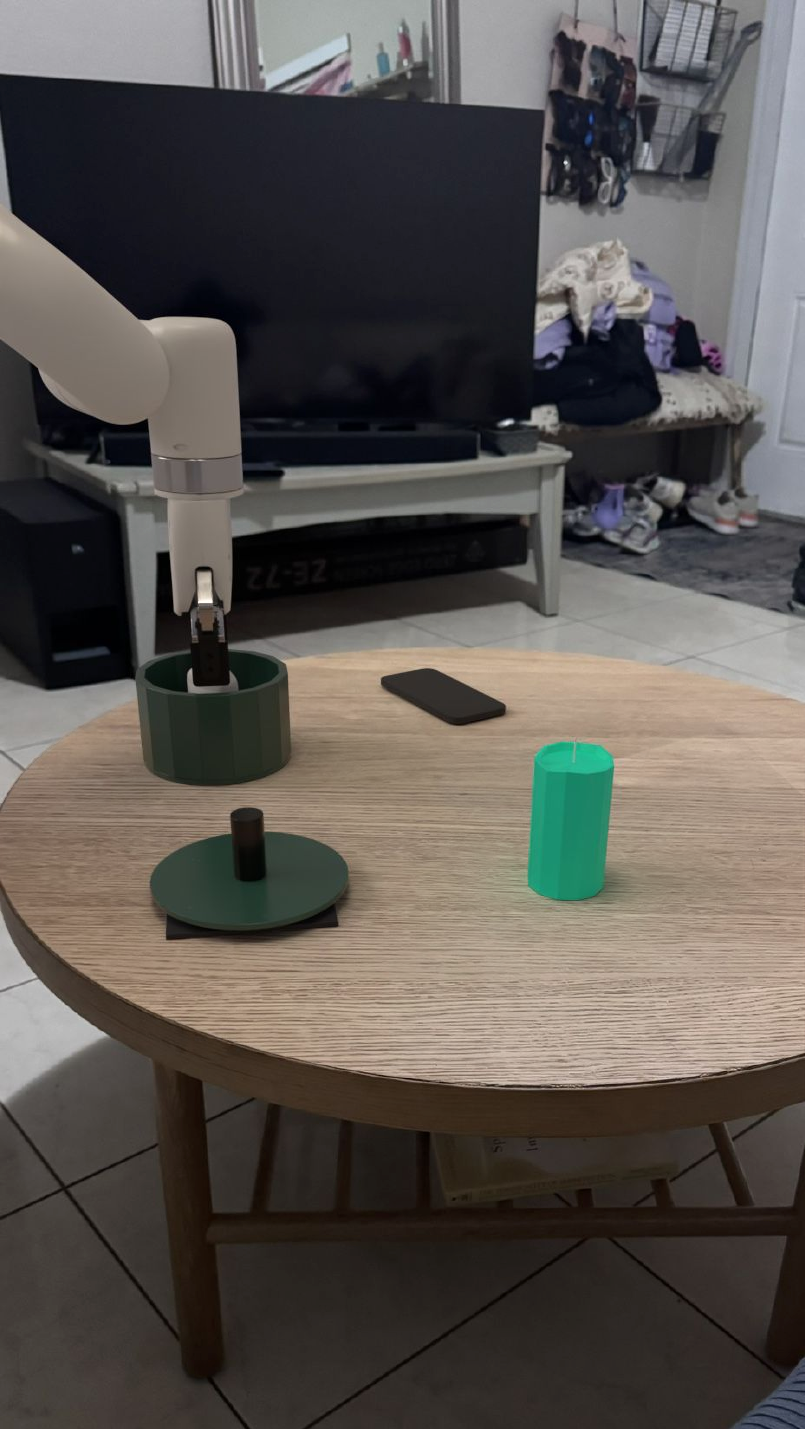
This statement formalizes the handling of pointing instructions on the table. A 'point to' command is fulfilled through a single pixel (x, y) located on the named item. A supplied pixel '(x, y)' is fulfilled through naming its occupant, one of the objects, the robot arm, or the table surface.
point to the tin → (214, 721)
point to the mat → (185, 930)
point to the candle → (570, 820)
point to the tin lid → (249, 877)
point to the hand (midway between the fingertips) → (211, 667)
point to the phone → (443, 695)
